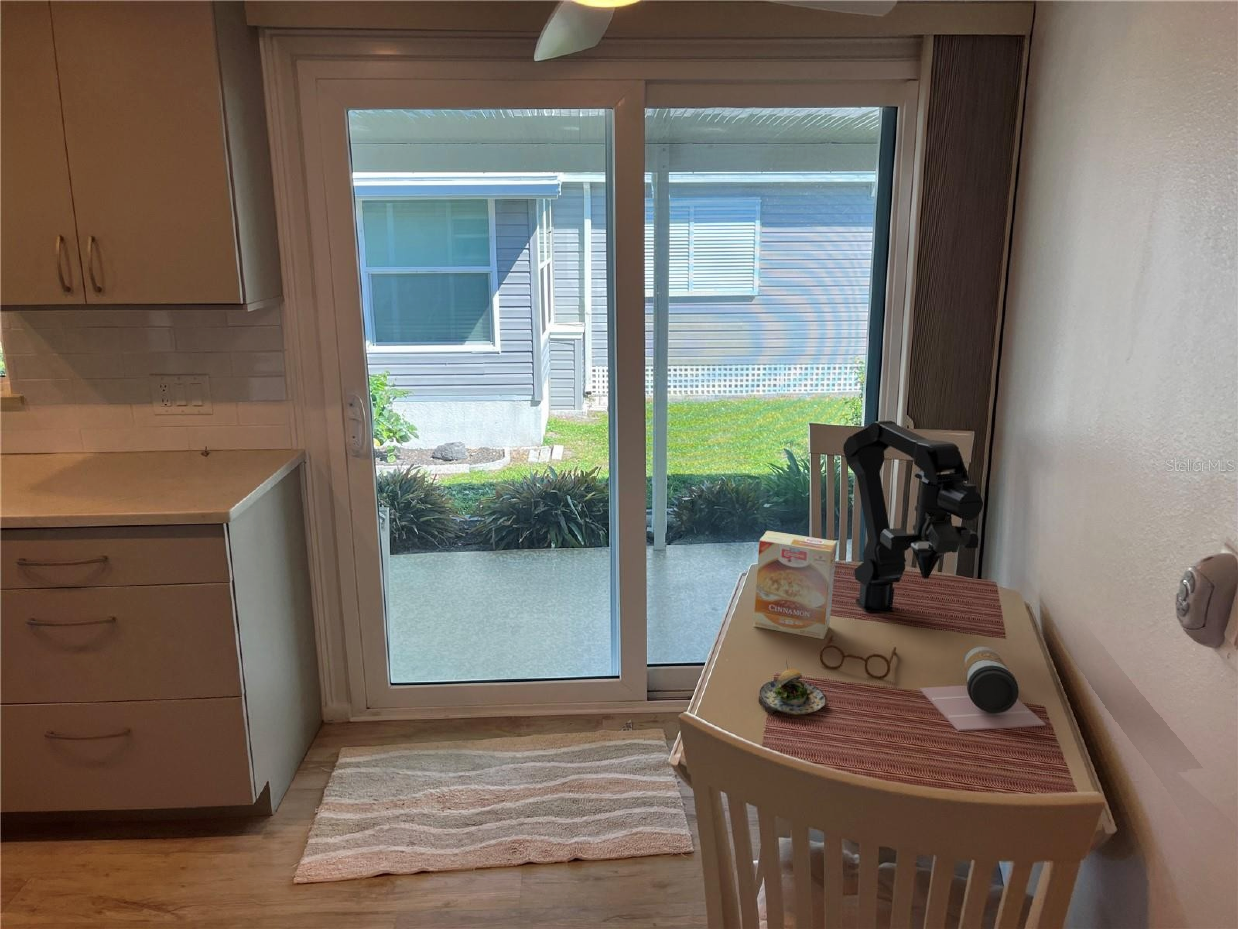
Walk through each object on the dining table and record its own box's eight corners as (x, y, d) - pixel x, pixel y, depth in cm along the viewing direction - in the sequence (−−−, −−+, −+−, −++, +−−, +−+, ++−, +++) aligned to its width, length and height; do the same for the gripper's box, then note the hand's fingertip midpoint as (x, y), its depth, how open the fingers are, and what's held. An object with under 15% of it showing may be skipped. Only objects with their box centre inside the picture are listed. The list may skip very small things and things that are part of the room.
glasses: (817, 668, 172) (820, 645, 171) (830, 641, 184) (832, 618, 183) (888, 683, 167) (891, 659, 166) (896, 654, 179) (899, 631, 178)
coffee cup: (1011, 647, 166) (1026, 677, 152) (999, 688, 168) (1013, 722, 154) (964, 635, 168) (975, 664, 154) (953, 676, 170) (963, 709, 156)
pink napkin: (957, 731, 151) (958, 729, 151) (919, 689, 164) (919, 687, 164) (1045, 725, 153) (1045, 723, 153) (1000, 685, 167) (1000, 683, 167)
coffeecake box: (752, 627, 189) (758, 539, 183) (760, 614, 195) (766, 529, 190) (824, 640, 183) (832, 551, 178) (829, 626, 190) (837, 539, 184)
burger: (766, 722, 153) (769, 683, 151) (751, 688, 164) (754, 651, 162) (835, 721, 154) (838, 682, 152) (815, 687, 165) (819, 650, 163)
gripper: (907, 519, 169) (899, 595, 174) (999, 516, 172) (988, 592, 176) (882, 501, 180) (875, 573, 184) (969, 499, 183) (960, 570, 187)
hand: (925, 578), depth 183 cm, fingers closed
